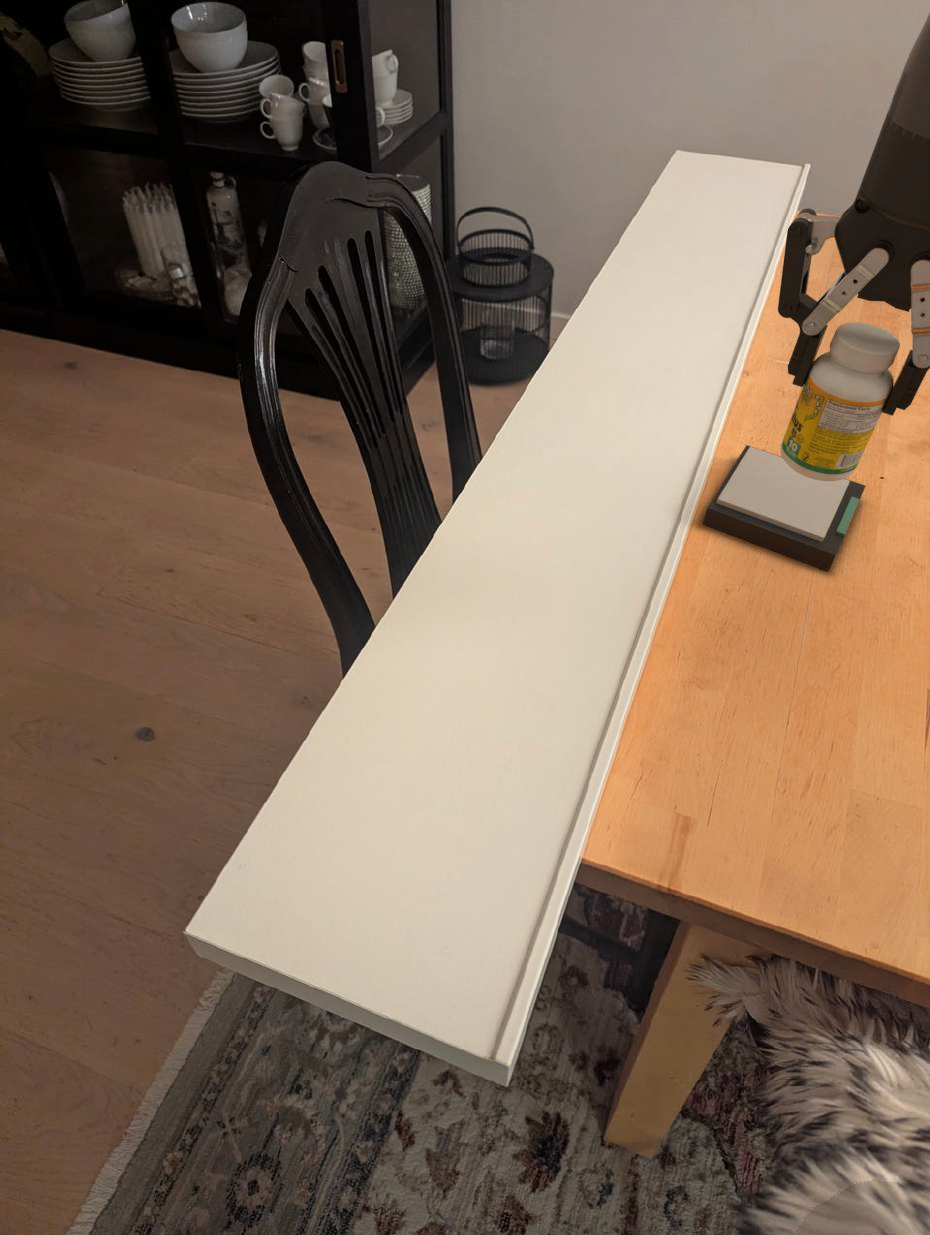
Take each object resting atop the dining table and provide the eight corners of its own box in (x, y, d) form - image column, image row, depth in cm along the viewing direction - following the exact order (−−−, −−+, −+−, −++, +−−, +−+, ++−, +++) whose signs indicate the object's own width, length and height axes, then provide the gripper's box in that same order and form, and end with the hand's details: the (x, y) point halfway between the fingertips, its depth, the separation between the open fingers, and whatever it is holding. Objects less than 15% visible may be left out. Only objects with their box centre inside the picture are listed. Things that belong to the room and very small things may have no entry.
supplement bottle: (852, 491, 61) (911, 367, 54) (773, 471, 62) (822, 347, 55) (856, 449, 64) (912, 327, 57) (782, 431, 65) (828, 309, 58)
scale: (858, 501, 87) (868, 480, 85) (828, 571, 80) (838, 550, 78) (741, 460, 91) (748, 439, 89) (702, 524, 83) (708, 502, 82)
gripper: (812, 107, 47) (724, 387, 59) (1107, 172, 43) (947, 458, 55) (842, 74, 51) (755, 339, 64) (1111, 129, 47) (962, 402, 59)
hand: (844, 393), depth 59 cm, fingers closed on supplement bottle, 5 cm apart
